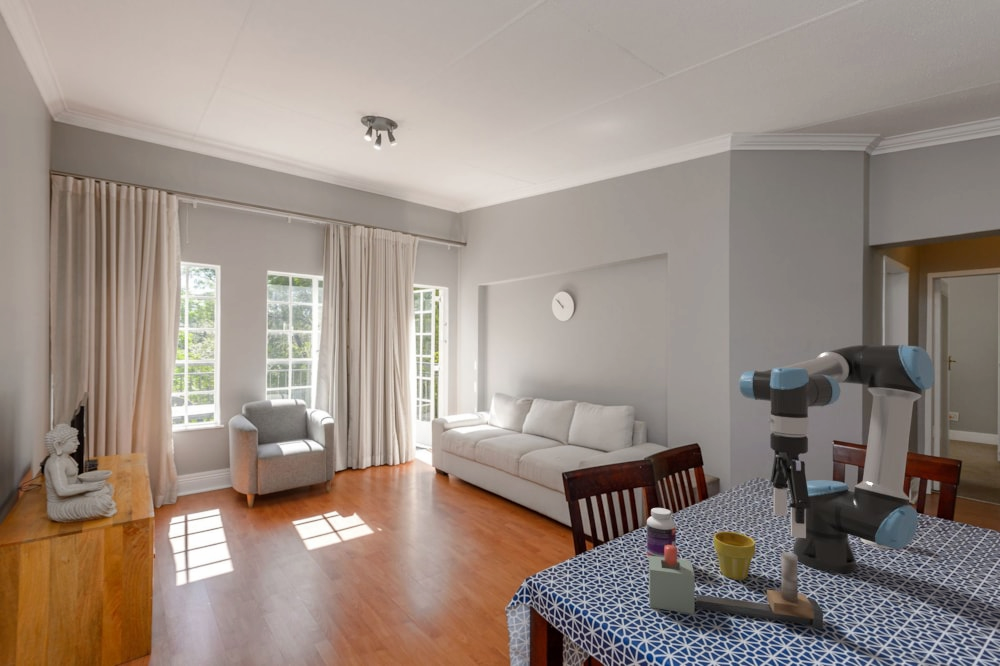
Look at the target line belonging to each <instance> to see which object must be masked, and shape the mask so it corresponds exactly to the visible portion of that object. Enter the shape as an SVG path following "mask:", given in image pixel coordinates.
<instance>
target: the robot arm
mask: <svg viewBox="0 0 1000 666" xmlns="http://www.w3.org/2000/svg"><path fill="white" fill-rule="evenodd" d="M934 382H935V368H934V363H933V361H932V359H931V356H930V355H929V353H928V352H927V351H926V349H924V348H923V347H920V346H918V345H917V346H916V345H905V344H900V345H896V344H895V345H888V344H887V345H883V344H882V345H879V344H878V345H868V344H867V345H866V344H859V345H851V346H845V347H842V348H836V349H833V350H830V351H825V352H822V353H820V354H818V355H817V356H816V357H815V358H812V359H809V360H804V361H800V362H796V363H793V364H789V365H785V366H781V367H779V366H777V367H773V369H767V370H764V371H758V370H753V371H752V370H751V371H750V370H749V371H745V372H743V373H742V375H740V378H739V382H738V385H739V392H740V394H741V395H742V396H743V397H745V398H746V399H752V400H755V401H758V400H759V401H768V402H770V418H768V419H767V421H768V423H770V431H772V432H771V434H770V446H769V447H770V449H771V450H773V451H774V456H773V462H772V463H773V464H772V470H771V477H770V482H771V483H772V486H773V516H777V517H778V516H779V517H785V518H786V517H788V513H787V512H788V507H787V506H789V508H790V536H791V537H792V538H796V540H795V543H794V546H793V554H795V555H797V557H798V562H799V563H801V564H803V565H806V566H808V567H810V568H813V569H816V570H820V571H824V572H829V573H836V574H849V573H853V572H855V570H856V569H857V568H856V567H857V565H856V563H857V561H856V558H855V554H854V553H853V552H854V551H853V549H852V546H851V543H850V541H849V535H850V536H851V537H852V536H853V537H856V538H859V539H860V538H862V539H865V540H868V541H871V542H874V543H876V544H878V545H883V546H887V547H890V548H894V549H893V550H896V549H897V550H898V549H904V548H905V547H906V546H907V545H909V543H910V542H911V541H912V540H913V538H914V536H915V534H916V532H917V528H918V524H919V517H918V512H917V509H916V508H914V507H913V506H911V505H910V497H909V496H908V495H907V494H906V493H905V491H904V482H905V476H906V475H905V473H906V468H907V467H906V466H907V458H908V450H909V449H908V448H909V440H910V432H911V425H912V417H913V416H912V415H913V407H914V403H915V401H917V400H919V399H920V398H922V394H923V391H926V390H930V389H931V388H932V387H933V384H934ZM840 383H841V384H842V383H843V384H856V385H865V386H867V391H868V392H869V393H870V394H871V395H872V397H873V398H872V406H871V407H872V408H871V415H870V422H869V429H868V438H867V445H866V446H867V447H866V453H865V460H864V467H863V468H864V469H863V476H862V481H860V482H859V483H857V484H856V485H854V490H853V491H850V487H849V485H848V484H847V483H845V482H842V481H837V480H826V479H816V480H812V479H811V480H807V477H806V463H805V461H804V460H800V458H799V457H800V456H799V455H801V454H802V455H803V454H807V453H808V452H809V438H808V437H807V436H806V435H808V434H809V408H810V407H811V408H812V407H826V406H829V405H832V404H834V403H836V402H837V401H838V399H839V398H840V395H841V387H840ZM788 489H789V493H790V499H791V502H790V503H789V505H788V504H787V503H788V501H787V500H788V493H787V492H788Z"/></svg>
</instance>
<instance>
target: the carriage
mask: <svg viewBox="0 0 1000 666" xmlns="http://www.w3.org/2000/svg"><path fill="white" fill-rule="evenodd" d="M780 560H781V573H780V575H781V576H780V577H781V578H780V579H781V580H780V581H781V591H780V590H772V589H766V601H767V604H769V605H770V607H771V609H772V611H773V613H776V614H783V615H790V616H797V617H804V618H811V619H814V608H813V606H812V605H811V603H810V602H809V600H808V599H809V598H808V597H807V596H806V594H803V593H799V591H798V582H799V581H798V580H799V579H798V575H799V573H798V571H799V570H798V568H799V567H798V566H799V565H798V564H799V563H798V562H799V561H798V557H797V555H795V554H794V552H789V551H783V552H781V559H780Z"/></svg>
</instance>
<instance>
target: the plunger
mask: <svg viewBox="0 0 1000 666" xmlns="http://www.w3.org/2000/svg"><path fill="white" fill-rule="evenodd" d="M677 559H678V547H677V545H676V546H673V545H665V546H664V563H665V564H666V565H667V566H671V567H675V566H677Z"/></svg>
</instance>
